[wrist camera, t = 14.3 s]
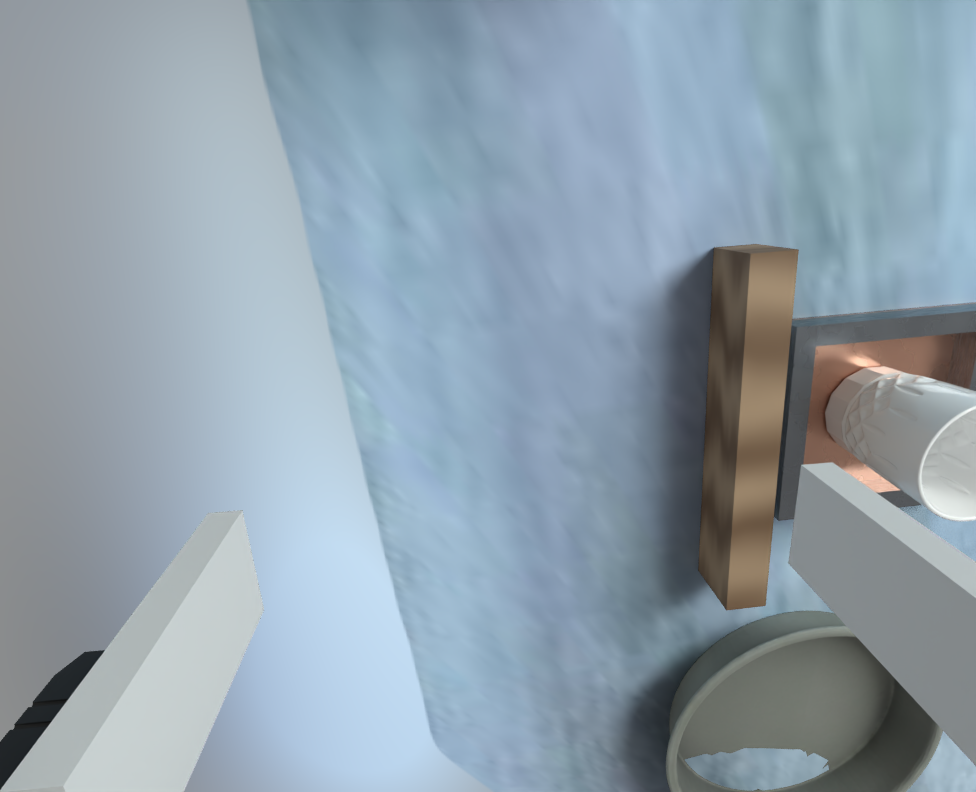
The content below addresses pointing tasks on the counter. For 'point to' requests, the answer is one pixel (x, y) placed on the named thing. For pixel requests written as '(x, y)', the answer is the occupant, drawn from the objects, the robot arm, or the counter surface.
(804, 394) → the square tray
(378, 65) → the counter surface
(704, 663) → the cake pan
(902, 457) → the white cup
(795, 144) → the counter surface
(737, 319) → the board
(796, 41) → the counter surface
